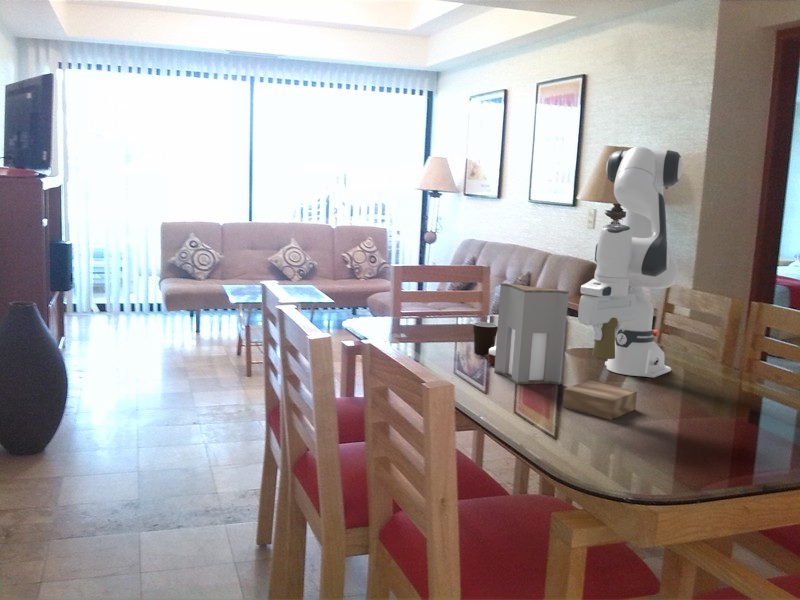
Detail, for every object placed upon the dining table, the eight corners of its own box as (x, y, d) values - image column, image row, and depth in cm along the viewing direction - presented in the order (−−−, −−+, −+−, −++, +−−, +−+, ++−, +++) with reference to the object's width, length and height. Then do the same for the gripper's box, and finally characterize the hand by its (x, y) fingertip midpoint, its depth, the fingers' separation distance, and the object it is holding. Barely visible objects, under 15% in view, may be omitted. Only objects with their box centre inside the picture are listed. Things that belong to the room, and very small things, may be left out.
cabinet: (560, 383, 228) (568, 291, 223) (549, 390, 219) (557, 294, 215) (496, 371, 238) (502, 283, 234) (483, 377, 230) (490, 285, 225)
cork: (587, 355, 202) (592, 314, 200) (599, 353, 206) (604, 313, 205) (607, 359, 198) (612, 318, 196) (619, 357, 202) (624, 316, 200)
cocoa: (486, 367, 244) (488, 331, 242) (482, 362, 250) (483, 326, 248) (515, 367, 245) (517, 330, 243) (510, 361, 251) (512, 326, 249)
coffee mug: (488, 357, 258) (490, 328, 256) (466, 352, 263) (468, 324, 261) (505, 351, 267) (507, 323, 265) (483, 347, 272) (485, 320, 270)
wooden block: (588, 397, 214) (589, 380, 213) (635, 409, 205) (637, 391, 204) (562, 406, 204) (564, 388, 203) (610, 419, 194) (612, 400, 194)
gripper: (625, 283, 208) (620, 333, 210) (576, 287, 195) (571, 339, 198) (644, 286, 203) (639, 337, 205) (596, 290, 191) (591, 344, 193)
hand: (605, 338), depth 201 cm, fingers closed on cork, 4 cm apart
